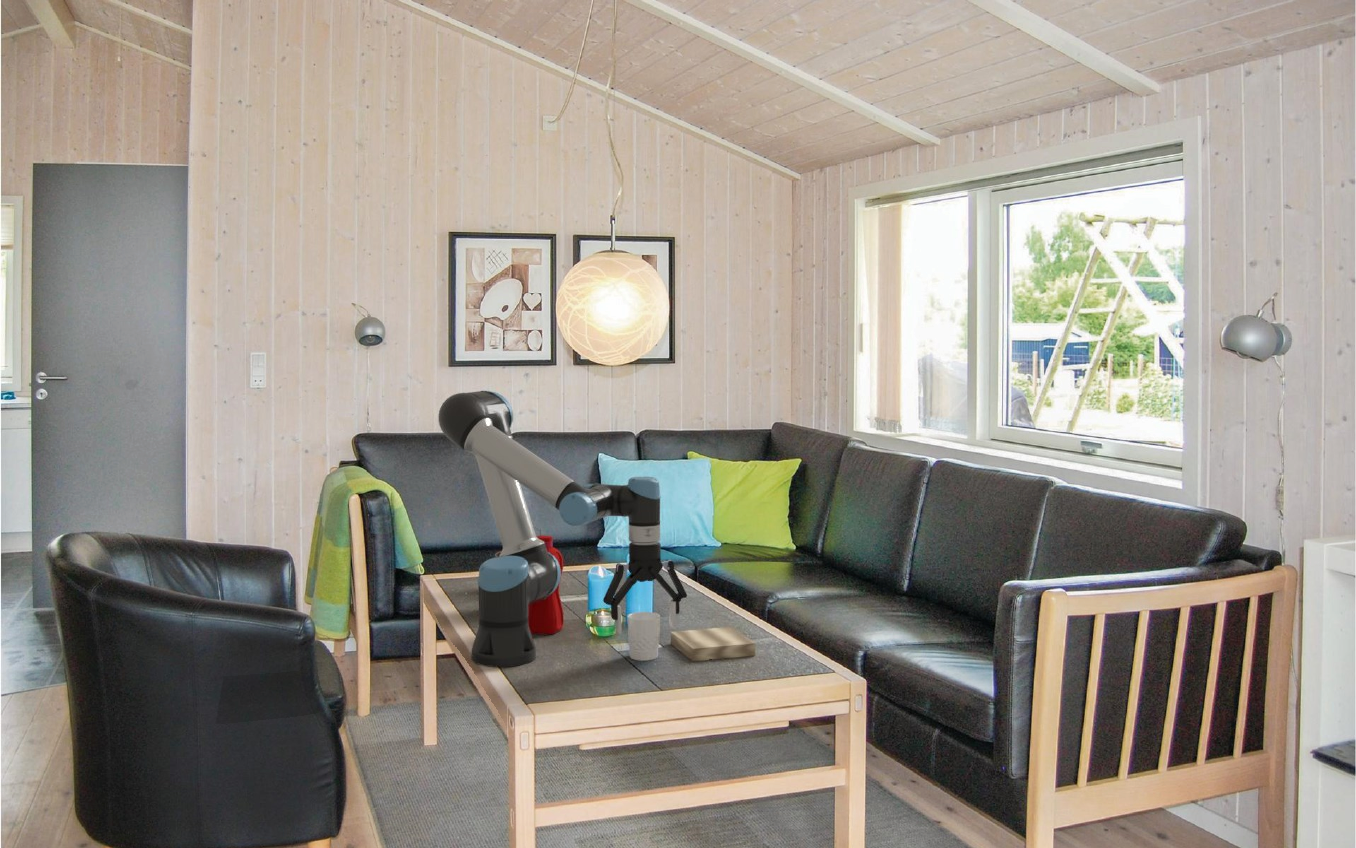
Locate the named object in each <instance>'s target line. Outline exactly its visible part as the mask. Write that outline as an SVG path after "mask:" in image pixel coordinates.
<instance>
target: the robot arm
mask: <svg viewBox="0 0 1356 848" xmlns="http://www.w3.org/2000/svg"><path fill="white" fill-rule="evenodd" d="M513 422H514V411H513V407H512V405H511V403H510V402H509V401H508V399H507V398H506V397H504V396H503V395H502V394H501V393H499V392H495V391H490V390H479V391H471V392H470V391H469V392H458V393H455V394H452V395H451V396H449V397H447V398H446V399H445V400H444V401H443V402H442V404H441V406H440V408H439V411H438V424H439V427H440V428H439V429H440V431H442V433H443V434H444V436H445V437H446V438H447V439H449V440H450V441H451V442H452V443H453V444H455V445H456V446H457V447H459V448H460V449H462V450H464V451H465V452H466V453H470V454H473V455H474V456H475V459H476V463H477V464H478V469H479V473H480V475H481V479H482V482H483V485H484V489H485V492H486V495H487V498H488V501H489V505H490V508H491V513H492V516H493V519H494V521H495V525H496V528H497V532H498V534H499V535H498V537H499V539H500V542H501V544H502V550H501V551H502V552H501V554H500V555H499V558H495V557H492V558H490V559H487V560H485V561H484V562H483V563H481V564H480V566H479V569H478V576H477V584H478V627H477V631H476V634H475V638H474V640H473V644H472V647H471V652H470V653H471V656H470V657H471V661H472V662H473V663H475V664H476V665H477V664H478V665H481V666H484V667H485V666H486V667H502V668H503V667H513V666H520V665H524V664H528V663H530V662H533V661H534V660H535V659H536V658H537V656H536V655H537V647H536V644H535V641H534V637H533V634H532V633H531V632H530V629H529V625H528V605H531V604H533V603H535V602H537V601H540V600H543V599H545V598H546V597H548V596H549V595H550V594H551V593H553V592H554V591H555V589H556V588H557V586H558V584H559V582H560V583H561V580H560V578H561V579H562V575H561V569H560V565H559V563H558V561H557V559H556V558H555V557H554V556H553V555H551V554H550V553H549V552H547V549H546V546H545V543H544V541H542V540H540V539H538V538H537V537H536V536H537V534H536V532H535V528H534V527H535V526H534V525H533V522H532V517H531V514H530V512H529V508H528V504H527V502H526V498H525V495H524V492H523V489H522V486H523V487H524V488H526V489H527V490H529V491H530V492H532V493H534V494H535V495H536V496H538V497H539V498H541V499H542V500H543V501H545V502H546V503H548V504H549V505H551V506H552V507H553V508H555V509H556V510H558V511H559V514H560V517H561V518H562V521H564V522H565V524H567V525H569V526H573V527H578V526H579V527H580V526H585V525H588V524H590V523H593V522H594V521H598V520H601V519H602V518H606V517H623V518H624V517H628V541H629V542H630V543H629V544H628V556H629V557H628V560H629V561H628V564H621V563H619V562H618V563H616V564H615V573H614V575H613V577H612V579H611V582H610V584H609V586H608V589H607V591H606V592H605V595H604V597H603V600H602V602H603V603H605V604H606V605H607V606H610V616H611V619H612V620H613V621H614V626H615V627H614V629H615V633H616V634H618V635H622V634H623V633H622V632H623V631H622V606H621V605H620V604H621V602H622V601H623V599H624V598H625V597H626V595H628V593H629V591H630V590H631V588H633V586H634V585H635V584H636V583H638V582H640V583H644V582H653V581H654V580H656V582H657V583H658V584H659V585H660V586H661V587H662V588H663V590H665V591H666V593H667V594H668V595H669V596H670V597H671V599H668V610H669V611H668V616H669V617H668V620H669V621H668V623H669V627H670V628H671V629H672V630H676V629H677V615H678V614H680V602H681V601H682V599H686V598H687V596H688V595H687V592H686V589H685V588H684V586H683V584H682V582H681V580H680V578H679V576H678V573H677V572H676V570H675V562H674V561H673V560H672V559H670V558H669V559H666V560H664V561H662V560H661V556H662V553H661V543H660V542H659V541H660V540H661V498H662V497H661V489H660V481H659V479H658V478H656V477H654V476H631V477H630V478H628V480H627V484H622V485H619V484H605V483H604V484H603V483H591V484H590V483H589V484H585V485H584V486H582V485H580V484H578V483H577V482H576V481H575V480H573V479H572V478H570V477H569V476H567V475H566V474H565V473H563V472H561V471H560V470H559V469H557V468H555V466H552V465H551V464H550V463H548V462H546V461H545V460H543V459H542V458H541V457H540V456H538V455H536V454H535V453H533V452H532V451H531V450H529V449H528V448H526V447H525V446H523V445H522V444H520V443H519V442H518V441H516V440H515V439H514V438H513V434H512V432H511V431H512V430H511V428H512V424H513ZM533 526H534V527H533ZM663 568H664V570H666V571H667V573H668V575H669V577H670V579H671V582H672V583H673V585H674V587H675V590H674V589H673V588H672V587H671V585H670V584H668V582H667V581H666V579H664V577H663V576H662V575H661V574H660V572H661V570H662V569H663ZM627 571H628V572H629V573H630V574H629V575H628V576H627V578H626V580H625V582H624V583H623V584H622V585H621V587H620V588H619V586H620V583H621V581H622V578H623V576H624V574H625V573H626V572H627ZM559 585H560V584H559ZM618 588H619V590H618ZM676 591H677V592H676Z"/></svg>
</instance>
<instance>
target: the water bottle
mask: <svg viewBox="0 0 1356 848" xmlns="http://www.w3.org/2000/svg"><path fill="white" fill-rule="evenodd" d="M536 537H537V538H538V539H540V540H542V541H544V543H545V546H546V549H547V552H549V553H550V554H551V555H553V556H554V557H555V558H556V559H557V561H558V563H559V565H560V569H561V576H562V574H563V570H564V557H563V556H562V553H561V552H560V551H559V550H558V548H555V547H553V544H554V543H553V536H551V535H542V534H541V535H540V534H539V535H536ZM561 579H562V577H561V578H560V582H559V584H558V586H557V588H556V589H555V591H554V592H553V593H551V594H550V595H549V596H548V597H546V598H545V599H543V600H540V601H537V602H535V603H533V604H531V605H528V625H529V629H530V632H531V634H532V635H545V636H548V635H555V634H557V633H558V632H560V630H562V629H563V626H564V621H565V620H564V609H563V605H562V601H561V596H560V584H561Z"/></svg>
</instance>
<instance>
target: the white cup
mask: <svg viewBox="0 0 1356 848" xmlns="http://www.w3.org/2000/svg"><path fill="white" fill-rule="evenodd" d="M660 630H661V615H660V614H659V613H658V612H657V613H656V612H651V611H650V612H649V611H637V612H632V613H629V614H627V633H628V634H627V637H628V638H627V639H628V646H629V647H628V648H629V649H628V650H629V651H628V652H629V653H628V654H629V658H630V659H631V660H635V661H640V662H641V661H653V660H656V659H657V658H658V657H659V645H660V634H661V633H660V632H661V631H660Z"/></svg>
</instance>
